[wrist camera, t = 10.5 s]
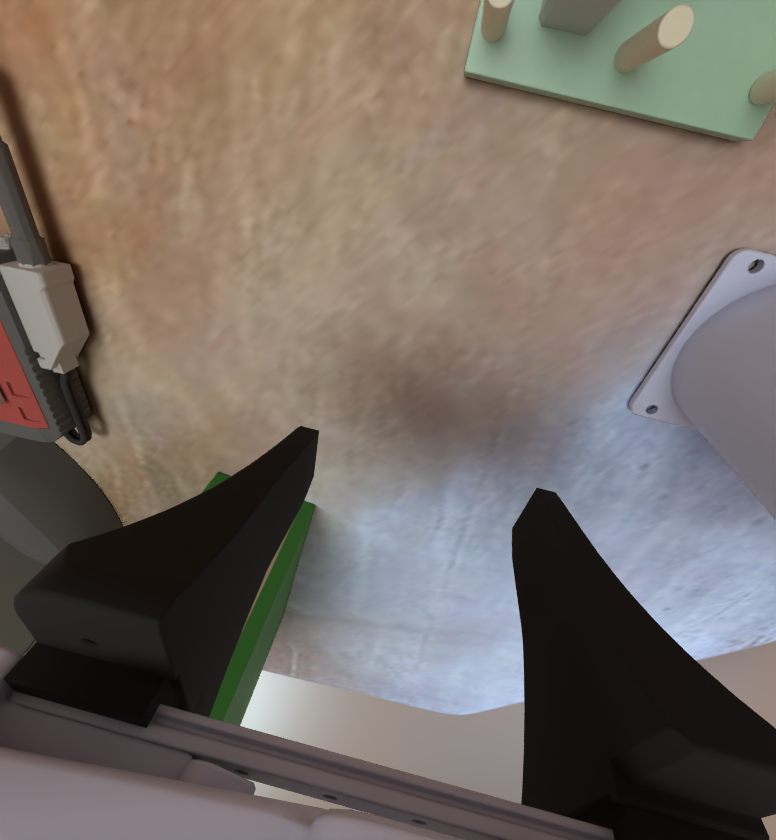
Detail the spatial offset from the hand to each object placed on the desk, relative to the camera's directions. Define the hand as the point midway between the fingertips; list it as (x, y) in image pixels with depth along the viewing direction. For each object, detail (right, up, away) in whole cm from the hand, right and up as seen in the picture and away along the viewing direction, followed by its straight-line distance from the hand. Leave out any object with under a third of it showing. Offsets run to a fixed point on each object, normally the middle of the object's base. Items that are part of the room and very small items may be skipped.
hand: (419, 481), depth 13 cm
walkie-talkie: (-22, +10, +9) cm, 26 cm away
